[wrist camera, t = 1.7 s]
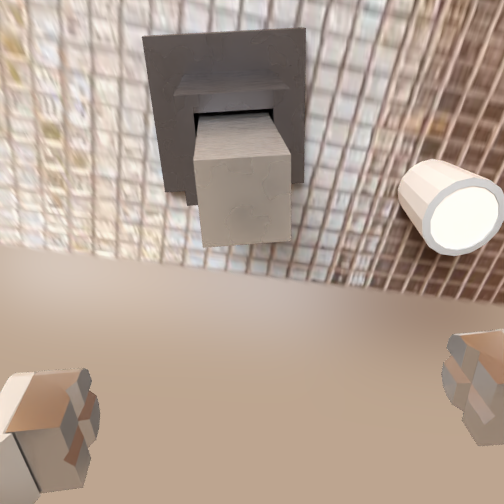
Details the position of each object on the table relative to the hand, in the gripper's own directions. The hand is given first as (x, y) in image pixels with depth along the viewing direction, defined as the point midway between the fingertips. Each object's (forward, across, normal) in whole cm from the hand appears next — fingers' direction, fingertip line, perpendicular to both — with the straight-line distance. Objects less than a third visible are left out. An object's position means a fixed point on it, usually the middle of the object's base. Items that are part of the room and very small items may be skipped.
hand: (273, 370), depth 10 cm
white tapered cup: (+30, +18, -8) cm, 36 cm away
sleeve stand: (+30, 0, 0) cm, 30 cm away
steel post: (+28, 0, 0) cm, 28 cm away
